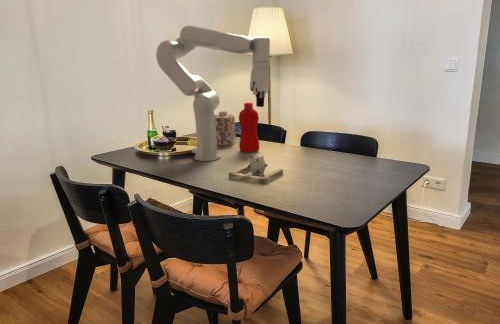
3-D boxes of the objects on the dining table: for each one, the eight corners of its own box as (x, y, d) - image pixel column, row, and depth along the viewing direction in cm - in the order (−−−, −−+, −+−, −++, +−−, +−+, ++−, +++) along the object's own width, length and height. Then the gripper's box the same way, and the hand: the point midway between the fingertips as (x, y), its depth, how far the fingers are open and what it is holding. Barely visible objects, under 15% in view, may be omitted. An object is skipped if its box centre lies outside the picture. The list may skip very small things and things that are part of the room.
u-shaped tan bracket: (228, 177, 165) (228, 173, 165) (248, 168, 178) (248, 164, 177) (264, 184, 157) (264, 179, 156) (282, 173, 169) (282, 169, 169)
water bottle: (247, 154, 202) (246, 104, 196) (237, 150, 211) (235, 102, 205) (263, 152, 207) (262, 103, 200) (252, 147, 216) (251, 101, 209)
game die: (260, 184, 168) (260, 170, 160) (243, 175, 171) (242, 161, 163) (271, 170, 172) (272, 155, 164) (254, 161, 175) (254, 146, 167)
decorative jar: (216, 141, 235) (214, 110, 230) (235, 141, 233) (234, 110, 229) (212, 145, 223) (210, 113, 218) (232, 145, 222) (231, 113, 217)
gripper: (262, 64, 188) (262, 104, 193) (244, 65, 176) (244, 107, 181) (276, 65, 184) (275, 105, 189) (258, 66, 172) (258, 109, 177)
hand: (260, 106), depth 185 cm, fingers closed
